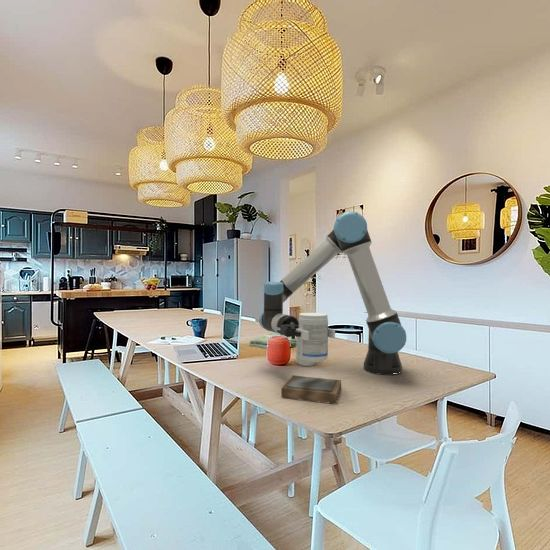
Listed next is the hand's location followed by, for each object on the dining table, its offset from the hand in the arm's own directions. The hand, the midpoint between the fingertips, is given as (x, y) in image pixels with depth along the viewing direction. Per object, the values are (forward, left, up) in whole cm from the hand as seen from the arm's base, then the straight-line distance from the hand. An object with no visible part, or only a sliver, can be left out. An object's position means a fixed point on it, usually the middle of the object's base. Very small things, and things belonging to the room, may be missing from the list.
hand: (321, 334), depth 117 cm
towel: (+36, -73, -20) cm, 84 cm away
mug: (+11, -39, -20) cm, 45 cm away
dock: (+3, -3, -20) cm, 20 cm away
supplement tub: (+3, -3, -9) cm, 10 cm away
